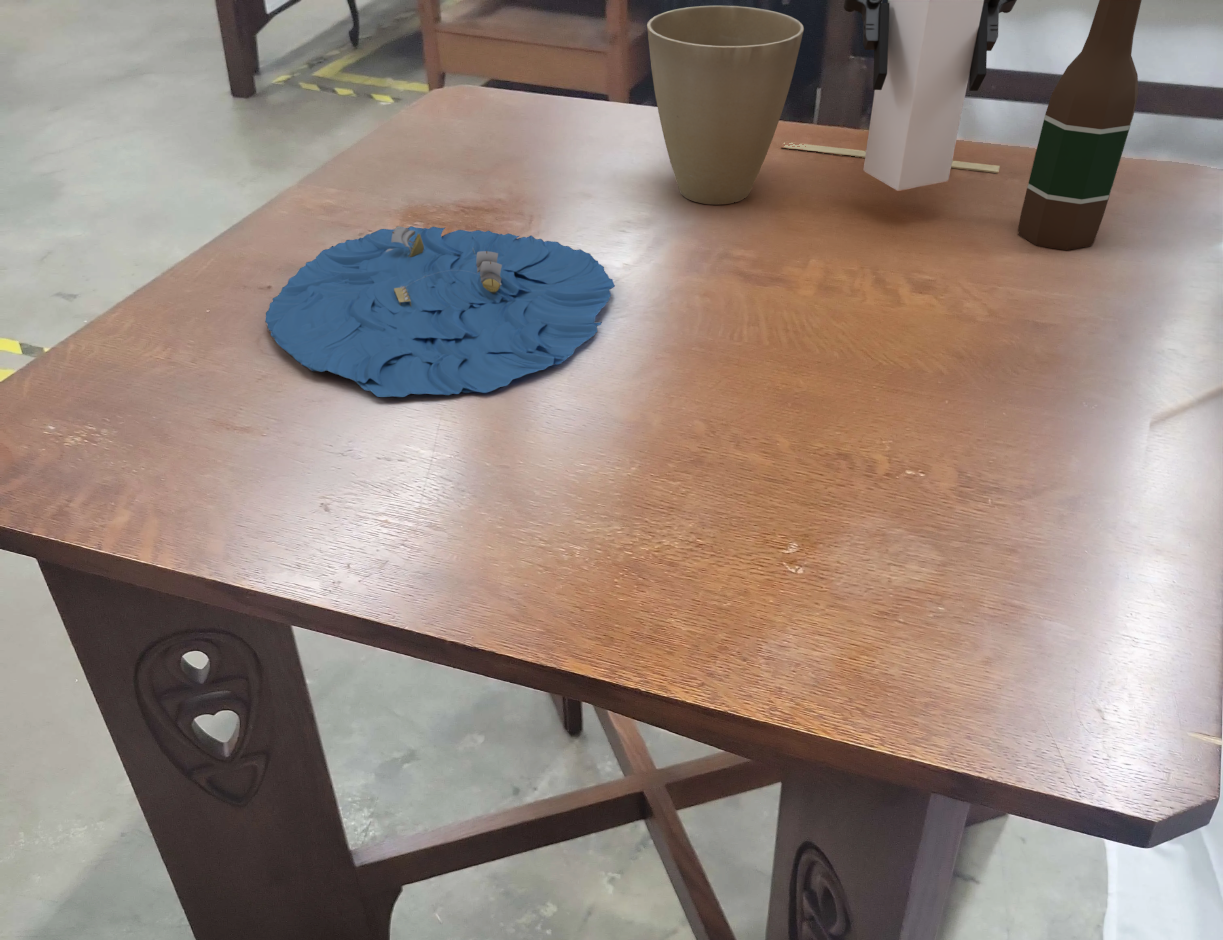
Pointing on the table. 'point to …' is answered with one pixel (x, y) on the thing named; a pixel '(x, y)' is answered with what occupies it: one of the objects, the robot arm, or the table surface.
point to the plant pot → (721, 93)
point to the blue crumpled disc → (439, 309)
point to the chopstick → (862, 154)
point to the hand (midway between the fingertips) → (928, 82)
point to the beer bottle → (1084, 134)
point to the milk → (922, 91)
